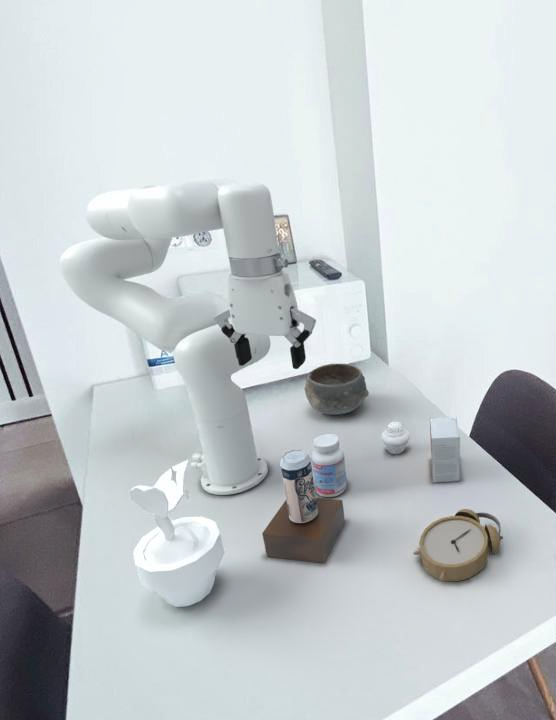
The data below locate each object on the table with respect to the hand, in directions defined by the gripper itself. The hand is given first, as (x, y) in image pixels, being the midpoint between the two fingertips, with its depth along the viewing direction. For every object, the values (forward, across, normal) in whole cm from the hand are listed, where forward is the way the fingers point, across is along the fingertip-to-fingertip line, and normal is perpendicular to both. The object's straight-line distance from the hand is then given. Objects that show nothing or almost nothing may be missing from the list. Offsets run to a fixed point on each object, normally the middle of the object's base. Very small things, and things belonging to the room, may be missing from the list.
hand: (272, 364), depth 93 cm
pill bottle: (+28, -6, -4) cm, 29 cm away
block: (+28, -7, +10) cm, 31 cm away
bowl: (+28, +4, -35) cm, 45 cm away
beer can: (+24, -7, +10) cm, 26 cm away
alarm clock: (+28, -34, +9) cm, 45 cm away
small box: (+28, -27, -13) cm, 41 cm away
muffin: (+28, -15, -19) cm, 37 cm away
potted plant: (+28, +6, +23) cm, 37 cm away
